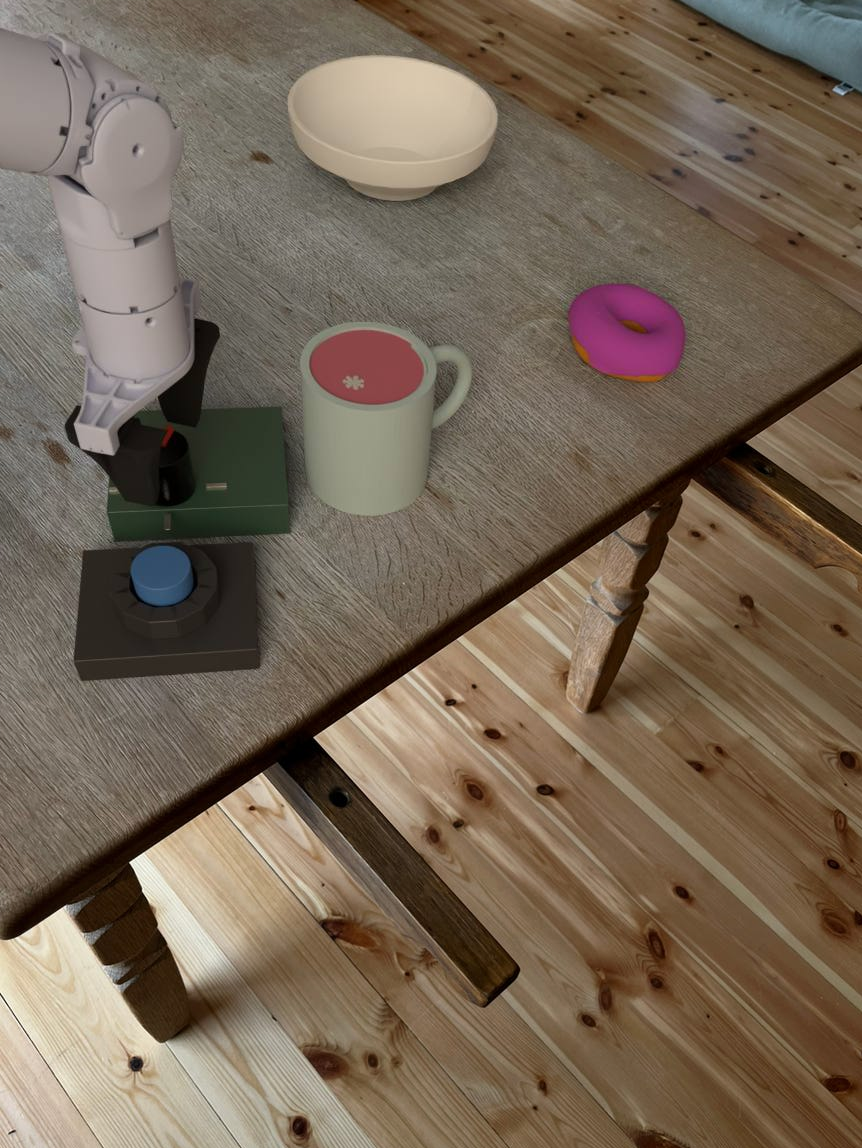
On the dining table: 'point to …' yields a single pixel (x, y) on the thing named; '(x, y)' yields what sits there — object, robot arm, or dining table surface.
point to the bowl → (392, 123)
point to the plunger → (162, 575)
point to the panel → (217, 480)
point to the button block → (167, 616)
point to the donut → (627, 332)
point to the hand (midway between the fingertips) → (162, 459)
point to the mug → (373, 414)
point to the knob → (175, 470)
